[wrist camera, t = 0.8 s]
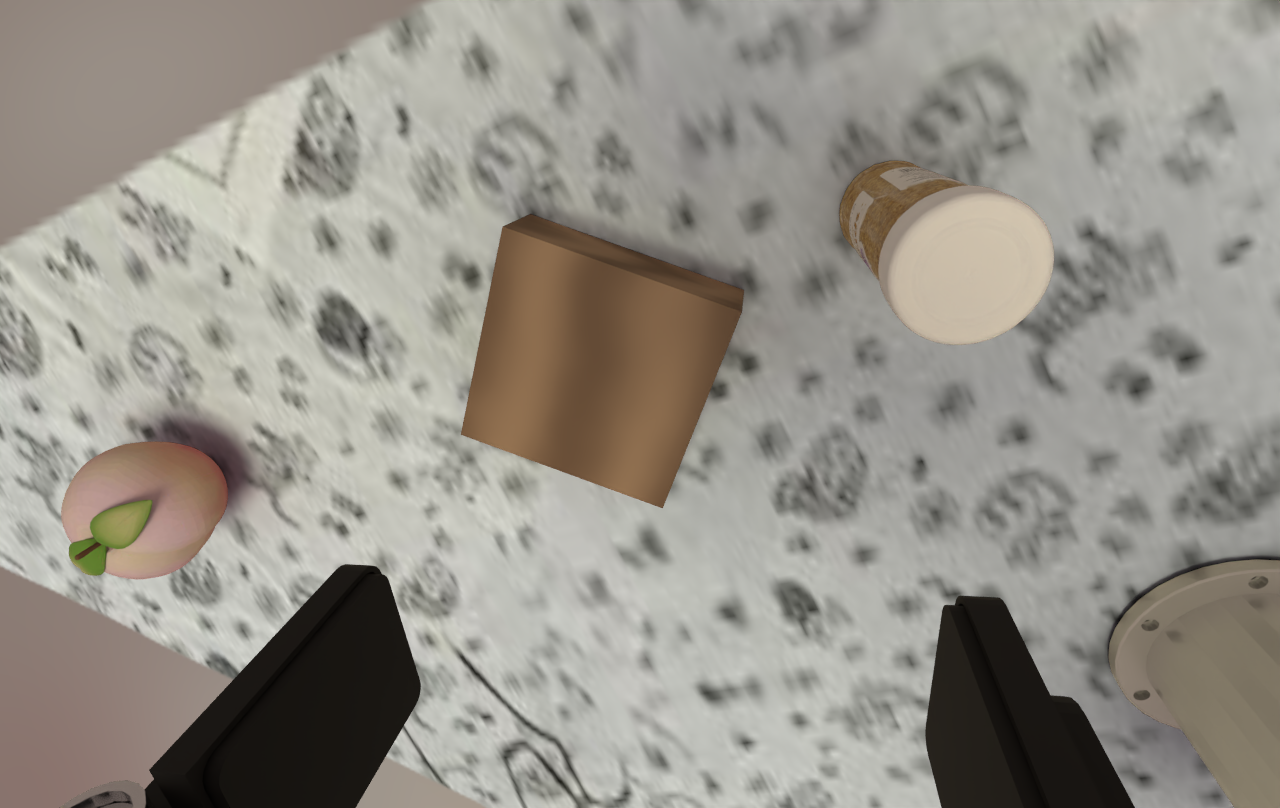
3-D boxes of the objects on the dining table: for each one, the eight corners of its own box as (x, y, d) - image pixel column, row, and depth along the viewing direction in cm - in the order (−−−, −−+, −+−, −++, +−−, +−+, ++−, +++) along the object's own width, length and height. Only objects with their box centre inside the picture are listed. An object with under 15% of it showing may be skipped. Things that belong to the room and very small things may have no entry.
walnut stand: (743, 290, 33) (741, 311, 29) (671, 471, 38) (662, 508, 35) (530, 214, 33) (502, 226, 30) (488, 404, 39) (460, 434, 35)
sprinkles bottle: (818, 220, 31) (854, 290, 19) (885, 137, 29) (973, 157, 17) (890, 275, 31) (969, 377, 19) (961, 197, 29) (1098, 258, 17)
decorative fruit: (179, 387, 42) (24, 461, 33) (281, 463, 44) (158, 553, 35) (138, 470, 46) (-10, 556, 37) (233, 537, 48) (111, 636, 39)
